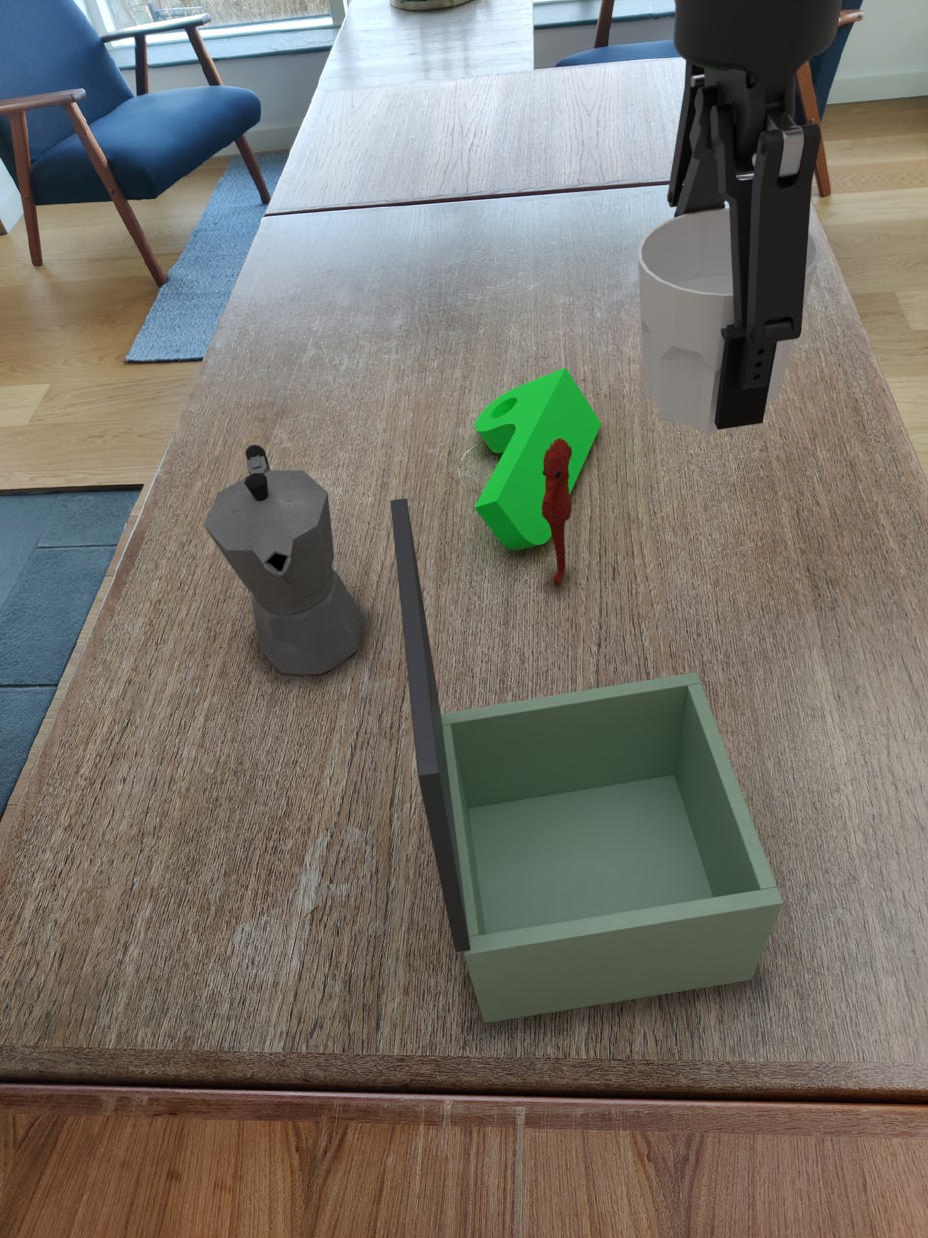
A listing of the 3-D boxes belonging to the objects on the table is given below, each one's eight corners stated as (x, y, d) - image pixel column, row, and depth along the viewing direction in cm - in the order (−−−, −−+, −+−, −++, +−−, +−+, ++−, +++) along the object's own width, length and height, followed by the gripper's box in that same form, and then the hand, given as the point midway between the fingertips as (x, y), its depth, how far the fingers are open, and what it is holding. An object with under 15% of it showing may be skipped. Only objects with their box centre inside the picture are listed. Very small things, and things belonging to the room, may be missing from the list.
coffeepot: (381, 678, 73) (334, 519, 60) (270, 710, 72) (196, 556, 59) (346, 554, 83) (299, 394, 70) (248, 581, 82) (181, 424, 69)
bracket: (525, 450, 96) (489, 397, 93) (602, 424, 90) (566, 366, 86) (458, 579, 85) (413, 524, 81) (539, 560, 78) (495, 499, 75)
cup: (813, 373, 58) (846, 225, 51) (751, 461, 53) (777, 311, 46) (673, 338, 63) (684, 197, 55) (604, 415, 58) (606, 272, 50)
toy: (536, 600, 77) (528, 466, 66) (555, 557, 80) (550, 422, 69) (563, 606, 76) (559, 471, 65) (580, 562, 79) (579, 427, 68)
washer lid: (406, 497, 42) (390, 499, 42) (439, 772, 32) (417, 776, 32) (440, 709, 56) (427, 710, 56) (470, 950, 46) (455, 953, 46)
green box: (681, 769, 65) (697, 671, 56) (751, 980, 55) (783, 903, 46) (455, 805, 65) (434, 714, 56) (484, 1023, 55) (464, 955, 46)
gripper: (626, -93, 47) (617, 292, 64) (761, 41, 33) (703, 496, 49) (765, -115, 47) (720, 276, 64) (965, 9, 32) (837, 476, 49)
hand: (712, 372), depth 57 cm, fingers closed on cup, 10 cm apart
